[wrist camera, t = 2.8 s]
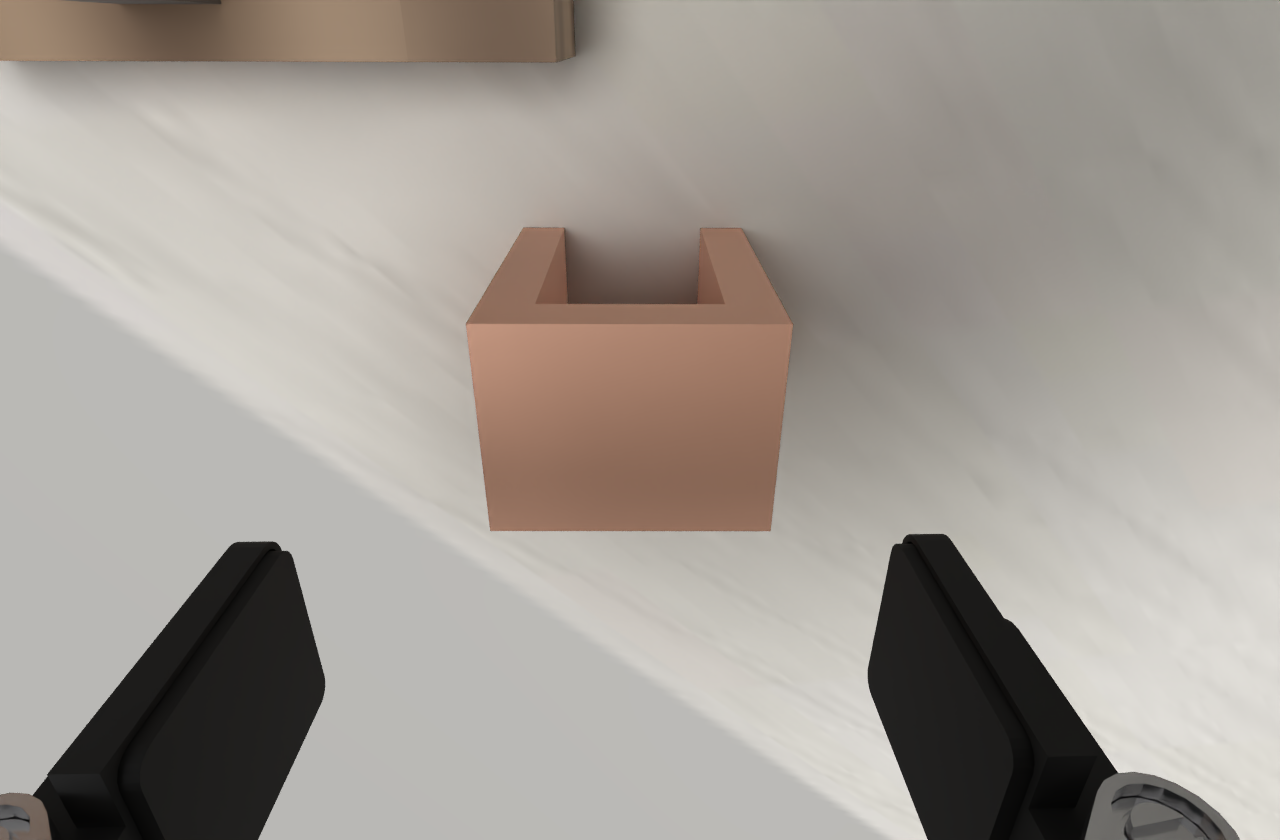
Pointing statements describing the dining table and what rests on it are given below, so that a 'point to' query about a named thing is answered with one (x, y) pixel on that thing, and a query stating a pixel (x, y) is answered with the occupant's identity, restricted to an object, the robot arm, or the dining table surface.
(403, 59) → the wooden rectangular frame
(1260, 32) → the dining table surface
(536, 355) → the pink u-channel block
